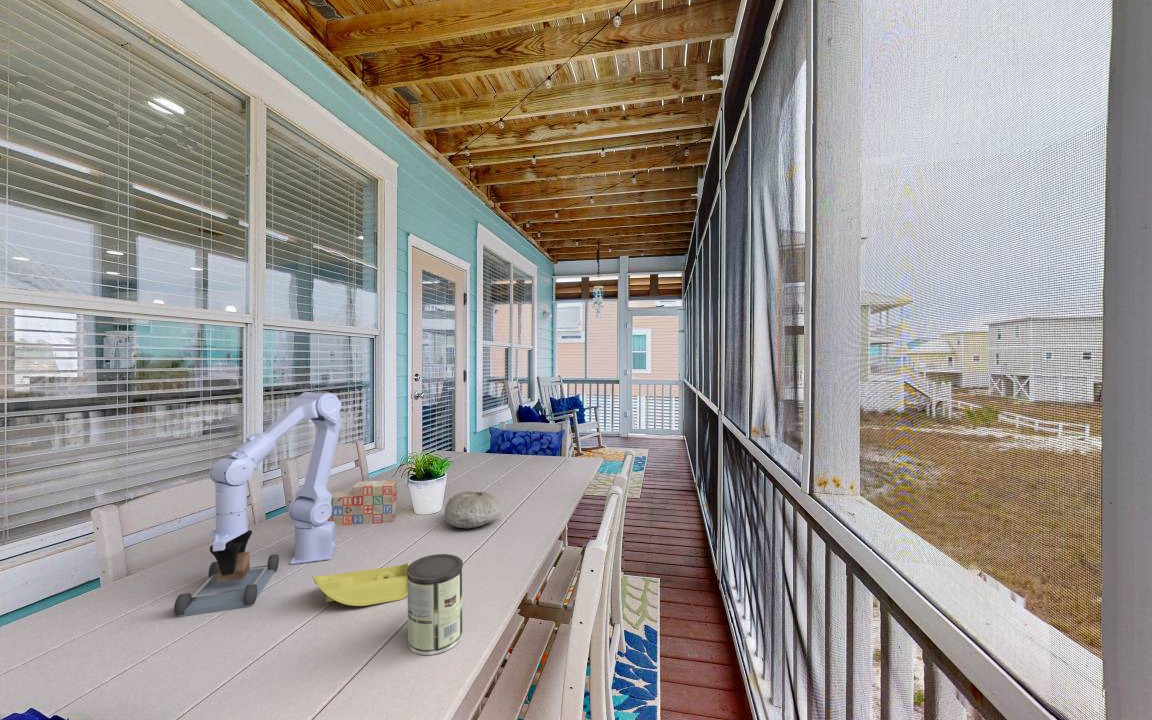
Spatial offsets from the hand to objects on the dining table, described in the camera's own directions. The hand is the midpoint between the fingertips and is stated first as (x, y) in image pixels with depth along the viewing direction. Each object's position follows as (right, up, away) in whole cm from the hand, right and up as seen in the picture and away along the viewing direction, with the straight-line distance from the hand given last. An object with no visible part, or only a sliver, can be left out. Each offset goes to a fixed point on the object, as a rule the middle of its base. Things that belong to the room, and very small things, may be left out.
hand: (232, 569), depth 104 cm
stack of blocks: (+9, -5, +44) cm, 45 cm away
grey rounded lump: (+46, -5, +41) cm, 62 cm away
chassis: (0, -5, 0) cm, 5 cm away
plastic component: (+31, -5, -1) cm, 31 cm away
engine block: (0, -2, 0) cm, 2 cm away
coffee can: (+52, -6, -17) cm, 55 cm away
